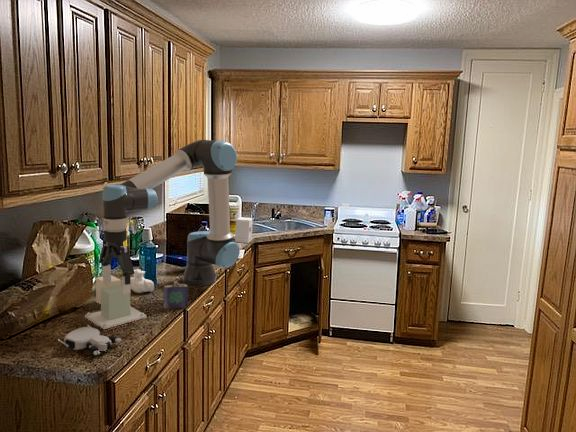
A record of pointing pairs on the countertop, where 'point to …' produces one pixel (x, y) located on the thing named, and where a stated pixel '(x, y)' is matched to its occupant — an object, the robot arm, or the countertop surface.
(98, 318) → the baseplate
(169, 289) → the flask
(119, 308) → the sage brick
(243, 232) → the supplement box
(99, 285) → the cream brick
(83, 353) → the countertop surface
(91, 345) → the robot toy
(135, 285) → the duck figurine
